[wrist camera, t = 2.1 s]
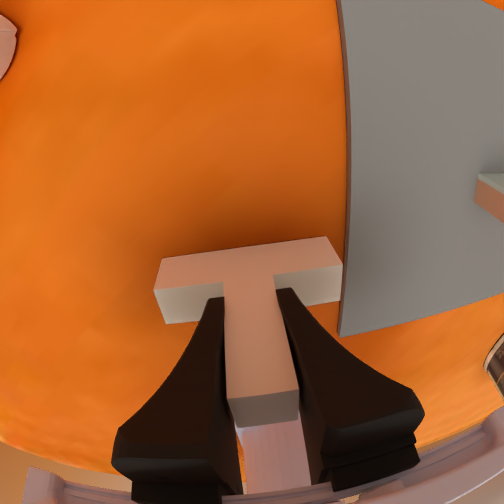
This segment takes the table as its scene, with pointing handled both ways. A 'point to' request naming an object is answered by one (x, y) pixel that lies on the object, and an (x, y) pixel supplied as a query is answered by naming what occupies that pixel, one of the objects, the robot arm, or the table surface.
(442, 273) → the mat
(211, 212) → the table surface
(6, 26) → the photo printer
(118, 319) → the table surface
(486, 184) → the tile
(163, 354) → the table surface
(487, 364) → the coffee can
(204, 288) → the beige t-shaped block
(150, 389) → the table surface
